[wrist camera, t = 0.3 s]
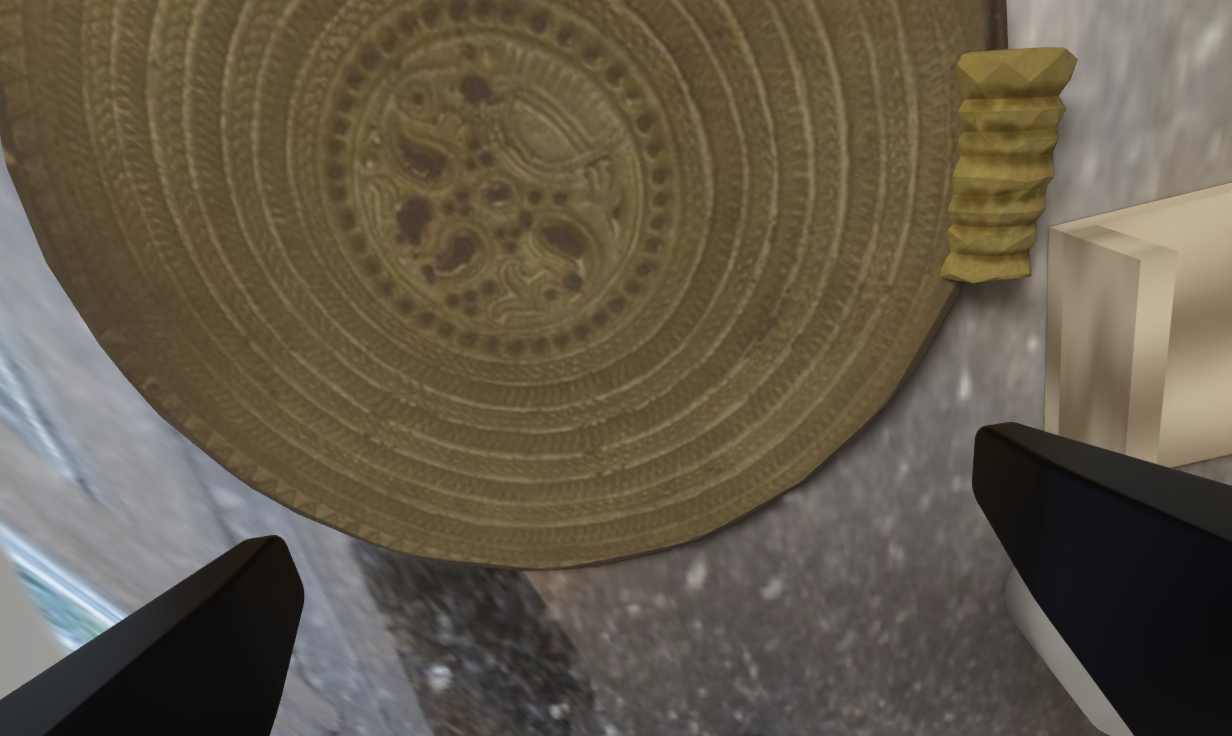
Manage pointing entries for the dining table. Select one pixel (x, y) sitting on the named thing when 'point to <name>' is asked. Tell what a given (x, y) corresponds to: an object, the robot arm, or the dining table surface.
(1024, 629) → the white rounded cylinder
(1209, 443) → the dish rack
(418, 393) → the decorative disc
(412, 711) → the dining table surface
